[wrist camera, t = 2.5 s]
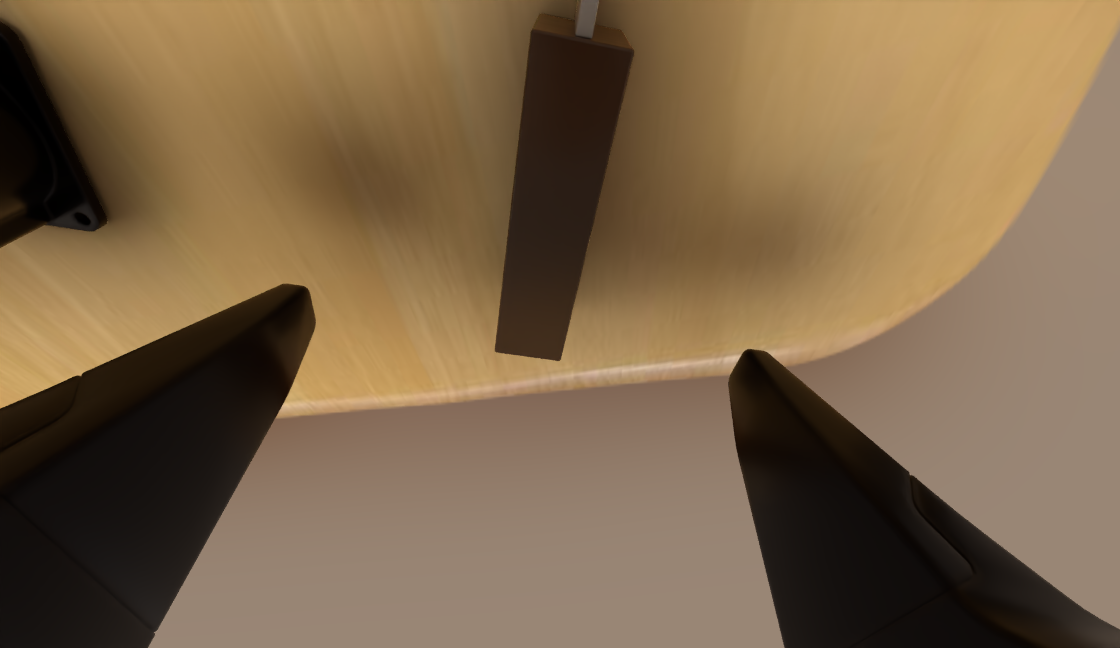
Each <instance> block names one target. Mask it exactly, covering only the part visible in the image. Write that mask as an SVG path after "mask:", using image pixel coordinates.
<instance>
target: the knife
mask: <svg viewBox="0 0 1120 648" xmlns="http://www.w3.org/2000/svg"><path fill="white" fill-rule="evenodd" d="M598 5H599V0H578V1H577V7H576V13H575V20H571V19H566V18H561V17H556V16H551V15H547V14H542V13H541V14H539V16H538V18H537V20H536V22H535V24H534V26H533V28H532V30H531V34H530V43H529V51H528V60H527V69H526V78H525V87H524V96H523V105H522V113H521V122H520V131H519V140H518V149H517V158H516V167H515V175H514V184H513V193H512V202H511V211H510V220H509V229H508V237H507V246H506V255H505V264H504V273H503V282H502V290H501V299H500V308H499V317H498V326H497V335H496V344H495V352H498V353H505V354H512V355H520V356H527V357H534V358H541V359H548V360H556V361H560V360H561V356H562V352H563V348H564V344H565V340H566V335H567V331H568V327H569V323H570V319H571V315H572V310H573V306H574V302H575V298H576V294H577V290H578V285H579V281H580V277H581V273H582V269H583V265H584V260H585V256H586V252H587V248H588V244H589V240H590V235H591V231H592V227H593V223H594V219H595V214H596V210H597V206H598V202H599V198H600V194H601V189H602V185H603V181H604V177H605V173H606V169H607V164H608V160H609V156H610V152H611V148H612V144H613V139H614V135H615V131H616V127H617V123H618V119H619V114H620V110H621V106H622V102H623V98H624V94H625V89H626V85H627V81H628V77H629V73H630V69H631V64H632V60H633V56H634V49H633V48H632V46H631V44H630V43H629V41H628V40H627V38H626V36H625V35H624V33H623V31H622V30H619V29H614V28H609V27H604V26H599V25H595V21H596V16H597V10H598Z"/></svg>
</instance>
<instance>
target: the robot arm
mask: <svg viewBox="0 0 1120 648" xmlns="http://www.w3.org/2000/svg"><path fill="white" fill-rule="evenodd" d="M87 216H88V217H87ZM107 221H108V220H107V216H106V214H105V212H104V210H103V208H102V206H101V204H100V202H99V200H98V198H97V196H96V194H95V192H94V190H93V187H92V185H91V183H90V181H89V179H88V177H87V175H86V173H85V171H84V169H83V167H82V165H81V163H80V161H79V159H78V157H77V155H76V153H75V151H74V148H73V146H72V144H71V142H70V140H69V138H68V136H67V134H66V132H65V130H64V128H63V126H62V124H61V122H60V120H59V118H58V116H57V114H56V112H55V110H54V107H53V105H52V103H51V101H50V99H49V97H48V95H47V93H46V91H45V89H44V87H43V85H42V83H41V81H40V79H39V77H38V75H37V73H36V71H35V68H34V66H33V64H32V62H31V60H30V58H29V56H28V54H27V52H26V50H25V48H24V46H23V44H22V42H21V40H20V39H19V37H18V36H17V34H16V33H15V32H14V31H13V30H12V29H11V28H10V27H8V26H7V25H5V24H4V23H2V22H1V21H0V248H1V247H3V246H5V245H7V244H9V243H11V242H13V241H15V240H17V239H19V238H20V237H22V236H24V235H26V234H28V233H30V232H32V231H34V230H36V229H38V228H39V227H41V226H43V225H50V226H57V227H64V228H70V229H77V230H83V231H96V230H97V229H99V228H101V227H102V226H104V225H106V224H107ZM315 324H316V319H315V314H314V309H313V305H312V300H311V295H310V292H309V290H308V288H306V287H305V286H301V285H294V284H282V285H279V286H277V287H275V288H273V289H270V290H268V291H266V292H264V293H261V294H259V295H257V296H255V297H252V298H250V299H248V300H246V301H243V302H241V303H239V304H237V305H234V306H232V307H230V308H228V309H225V310H223V311H221V312H219V313H216V314H214V315H212V316H210V317H207V318H205V319H203V320H201V321H198V322H196V323H194V324H192V325H189V326H187V327H185V328H183V329H180V330H178V331H176V332H174V333H171V334H169V335H167V336H165V337H162V338H160V339H158V340H156V341H153V342H151V343H149V344H147V345H144V346H142V347H140V348H138V349H136V350H133V351H131V352H129V353H127V354H124V355H122V356H120V357H118V358H115V359H113V360H111V361H109V362H106V363H104V364H102V365H100V366H97V367H95V368H93V369H91V370H88V371H86V372H84V373H83V374H82V376H75V377H72V378H70V379H68V380H66V381H63V382H61V383H59V384H57V385H54V386H52V387H50V388H48V389H45V390H43V391H41V392H38V393H36V394H34V395H31V396H29V397H27V398H24V399H22V400H20V401H17V402H15V403H13V404H10V405H8V406H6V407H3V408H1V409H0V648H148V646H149V645H150V643H151V641H152V639H153V638H154V635H155V633H154V632H155V631H157V630H158V628H159V626H160V624H161V622H162V621H163V619H164V617H165V615H166V613H167V612H168V610H169V608H170V606H171V604H172V603H173V601H174V599H175V597H176V595H177V594H178V592H179V590H180V588H181V586H182V585H183V583H184V581H185V579H186V577H187V576H188V574H189V572H190V570H191V568H192V567H193V565H194V563H195V561H196V560H197V558H198V556H199V554H200V552H201V550H202V549H203V547H204V545H205V543H206V542H207V540H208V538H209V536H210V534H211V533H212V531H213V529H214V527H215V525H216V523H217V521H218V520H219V518H220V516H221V515H222V513H223V511H224V509H225V507H226V506H227V504H228V502H229V500H230V498H231V497H232V495H233V493H234V491H235V489H236V488H237V486H238V484H239V482H240V480H241V479H242V477H243V475H244V473H245V471H246V470H247V468H248V466H249V464H250V462H251V461H252V459H253V457H254V455H255V453H256V452H257V450H258V448H259V446H260V444H261V443H262V440H263V439H264V437H265V435H266V434H267V432H268V430H269V428H270V427H271V425H272V423H273V421H274V419H275V418H276V416H277V414H278V412H279V410H280V409H281V407H282V405H283V403H284V401H285V399H286V397H287V395H288V393H289V391H290V389H291V387H292V384H293V382H294V379H295V377H296V374H297V372H298V369H299V367H300V364H301V362H302V360H303V357H304V355H305V352H306V350H307V347H308V345H309V342H310V340H311V337H312V335H313V332H314V329H315ZM728 386H729V394H730V402H731V411H732V419H733V427H734V436H735V442H736V449H737V453H738V458H739V462H740V466H741V470H742V474H743V478H744V483H745V487H746V490H747V495H748V499H749V503H750V507H751V512H752V516H753V520H754V524H755V528H756V532H757V536H758V540H759V545H760V549H761V552H762V557H763V561H764V565H765V569H766V573H767V577H768V582H769V586H770V590H771V594H772V598H773V602H774V606H775V610H776V614H777V618H778V622H779V627H780V631H781V635H782V639H783V643H784V647H785V648H1120V629H1118V628H1116V627H1114V626H1112V625H1110V624H1108V623H1107V622H1105V621H1103V620H1101V619H1099V618H1098V617H1096V616H1095V615H1093V614H1091V613H1090V612H1088V611H1087V610H1084V609H1083V608H1082V607H1081V606H1079V605H1078V604H1076V603H1075V602H1074V601H1072V600H1071V599H1070V598H1068V597H1067V596H1066V595H1064V594H1063V593H1062V592H1060V591H1059V590H1058V589H1056V588H1055V587H1053V586H1052V585H1051V584H1050V583H1049V582H1047V581H1046V580H1044V579H1043V578H1042V577H1041V576H1039V575H1038V574H1037V573H1035V572H1034V571H1033V570H1031V569H1030V568H1029V567H1027V566H1026V565H1025V564H1024V563H1022V562H1021V561H1020V560H1018V559H1017V558H1015V557H1014V556H1013V555H1012V554H1010V553H1009V552H1008V551H1007V550H1005V549H1004V548H1003V547H1001V546H1000V545H999V544H997V543H996V542H995V541H993V540H992V539H991V538H989V537H988V536H987V535H986V534H984V533H983V532H982V531H981V530H979V529H978V528H977V527H975V526H974V525H973V524H972V523H970V522H969V521H968V520H966V519H965V518H964V517H962V516H961V515H960V514H959V513H957V512H956V511H955V510H954V509H953V508H951V507H950V506H949V505H948V504H947V503H945V502H944V501H943V500H942V499H940V498H939V497H938V496H937V495H935V494H934V493H933V492H932V491H931V490H929V489H928V488H927V487H926V486H925V485H923V484H922V483H921V482H920V481H919V480H918V479H917V478H915V477H914V476H912V475H910V474H909V472H908V471H907V470H906V469H905V468H903V467H902V466H901V465H900V464H899V463H897V462H896V461H895V460H894V459H893V458H892V457H890V456H889V455H888V454H887V453H886V452H885V451H883V450H882V449H881V448H880V447H879V446H877V445H876V444H875V443H874V442H873V441H872V440H870V439H869V438H868V437H867V436H866V435H864V434H863V433H862V432H861V431H860V430H858V429H857V428H856V427H855V426H854V425H853V424H851V423H850V422H849V421H848V420H847V419H846V418H844V417H843V416H842V415H841V414H840V413H838V412H837V411H836V410H835V409H834V408H832V407H831V406H830V405H829V404H828V403H826V402H825V401H824V400H823V399H822V398H821V397H819V396H818V395H817V394H816V393H815V392H814V391H812V390H811V389H810V388H809V387H807V386H806V385H805V384H804V383H803V382H802V381H801V380H799V379H798V378H797V377H796V376H795V375H793V374H792V373H791V372H790V371H789V370H788V369H786V368H785V367H784V366H783V365H782V364H780V363H779V362H778V361H777V360H776V359H775V358H773V357H772V356H771V355H770V354H769V353H767V352H765V351H761V350H754V349H747V350H745V351H744V352H743V353H742V355H741V357H740V359H739V360H738V362H737V364H736V366H735V367H734V369H733V371H732V373H731V375H730V377H729V382H728Z"/></svg>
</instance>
